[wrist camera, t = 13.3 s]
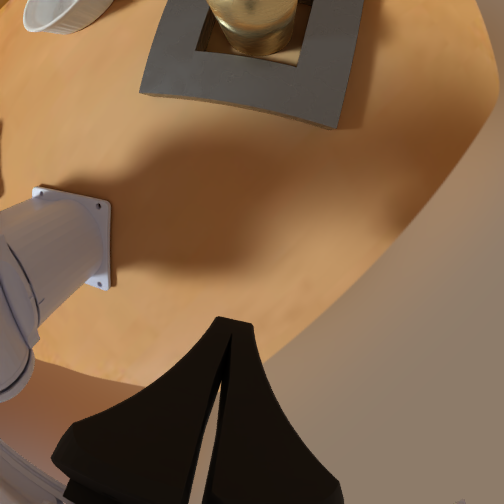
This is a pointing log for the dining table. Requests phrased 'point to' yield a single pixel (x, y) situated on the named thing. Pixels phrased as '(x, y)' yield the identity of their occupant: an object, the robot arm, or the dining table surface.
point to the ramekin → (62, 14)
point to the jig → (256, 64)
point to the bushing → (256, 24)
